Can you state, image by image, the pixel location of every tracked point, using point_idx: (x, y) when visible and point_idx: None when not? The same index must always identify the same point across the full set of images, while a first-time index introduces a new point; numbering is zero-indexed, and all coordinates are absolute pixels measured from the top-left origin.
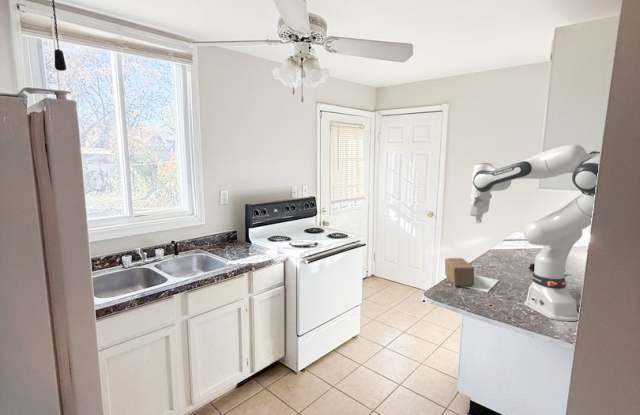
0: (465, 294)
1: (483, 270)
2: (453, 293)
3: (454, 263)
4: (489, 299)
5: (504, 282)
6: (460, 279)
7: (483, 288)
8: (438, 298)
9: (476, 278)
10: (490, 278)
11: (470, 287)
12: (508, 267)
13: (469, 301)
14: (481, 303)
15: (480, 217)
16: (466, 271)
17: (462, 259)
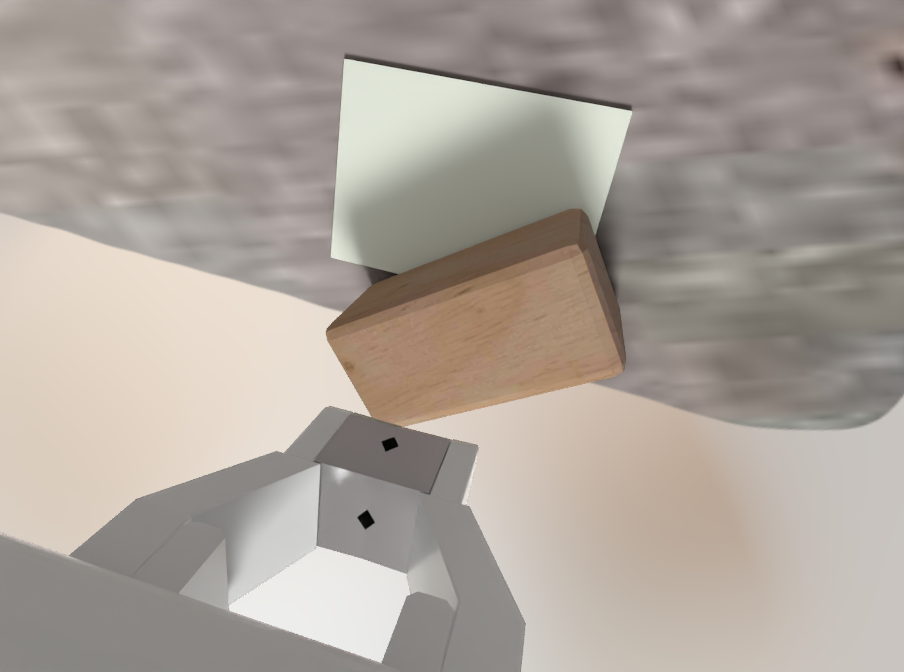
0: (730, 242)
1: (200, 175)
2: (739, 309)
3: (509, 378)
4: (773, 85)
5: (357, 17)
6: (613, 299)
7: (575, 143)
8: (868, 379)
9: (394, 203)
10: (343, 117)
11: (593, 224)
12: (28, 22)
13: (864, 208)
14: (880, 130)
15: (259, 518)
16: (601, 283)
17: (370, 331)
